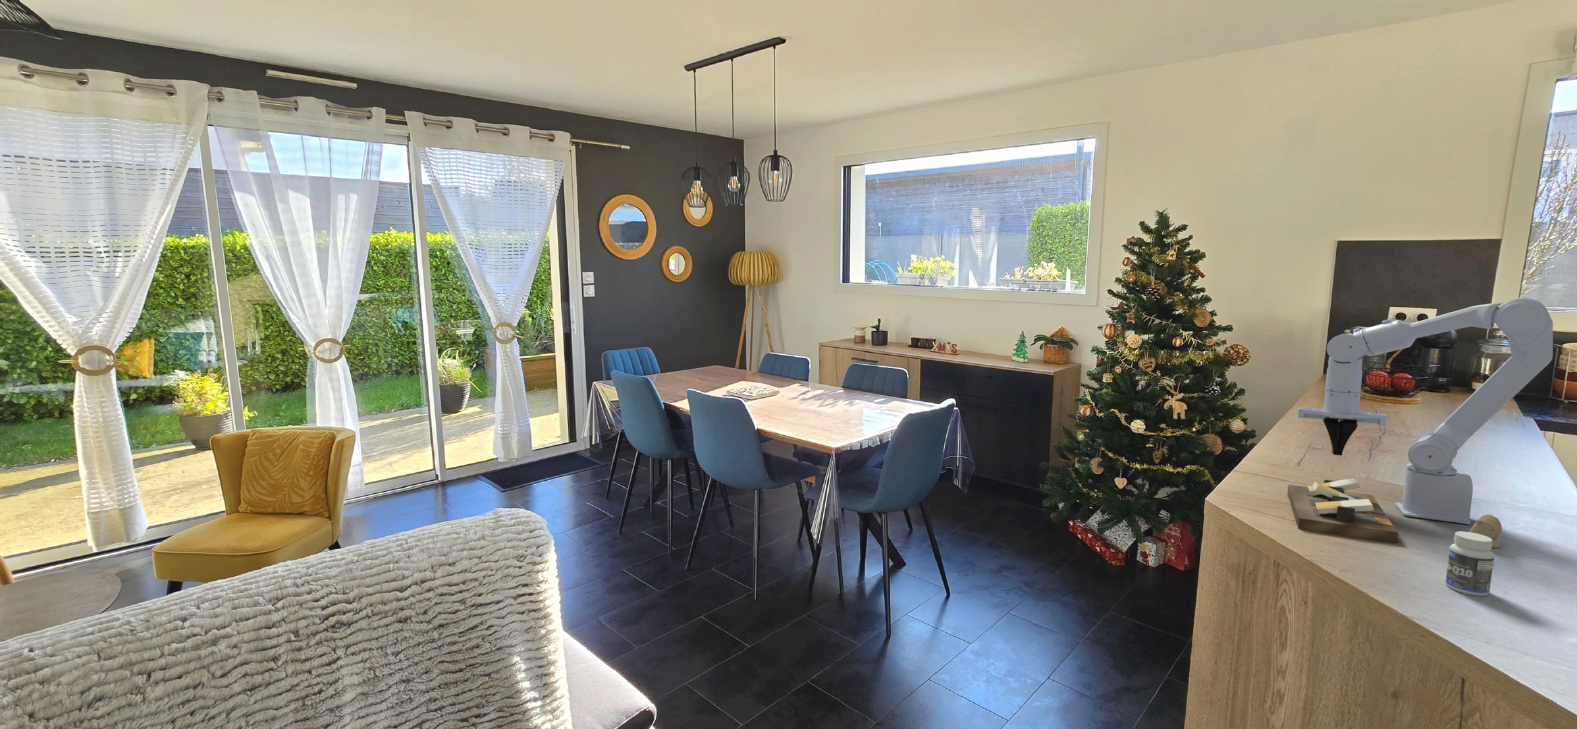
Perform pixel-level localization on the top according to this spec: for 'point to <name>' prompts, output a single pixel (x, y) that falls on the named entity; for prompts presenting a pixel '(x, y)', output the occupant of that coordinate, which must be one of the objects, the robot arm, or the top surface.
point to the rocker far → (1338, 485)
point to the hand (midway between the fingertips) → (1336, 454)
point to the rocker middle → (1329, 491)
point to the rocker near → (1344, 505)
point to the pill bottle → (1470, 564)
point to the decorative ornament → (1488, 528)
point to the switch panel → (1340, 515)
